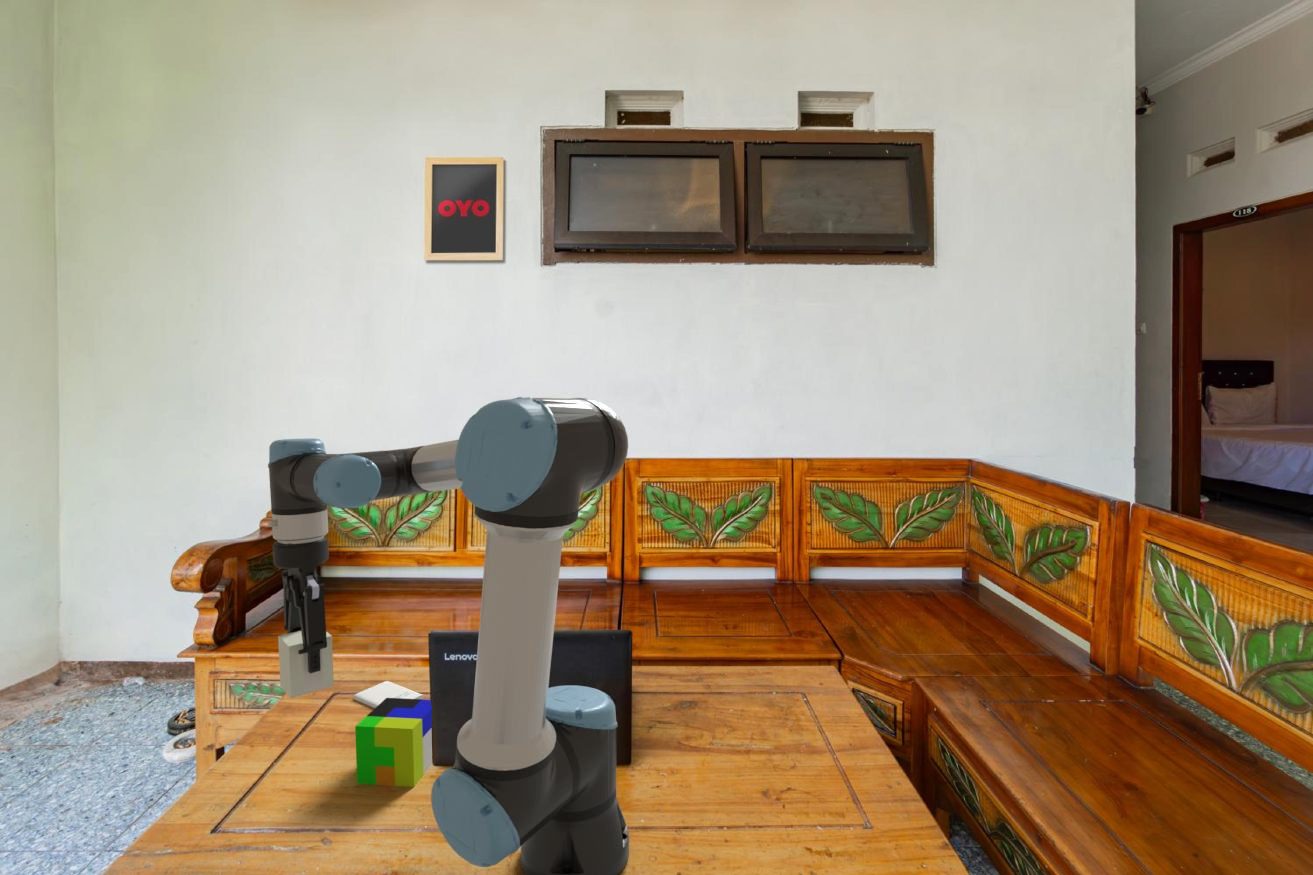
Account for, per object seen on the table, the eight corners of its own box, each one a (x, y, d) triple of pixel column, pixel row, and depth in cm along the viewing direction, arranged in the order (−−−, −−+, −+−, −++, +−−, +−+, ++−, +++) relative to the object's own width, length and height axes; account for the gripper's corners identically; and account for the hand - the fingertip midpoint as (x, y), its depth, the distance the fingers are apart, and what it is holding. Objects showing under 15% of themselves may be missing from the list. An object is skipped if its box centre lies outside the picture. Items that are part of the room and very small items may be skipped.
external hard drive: (388, 686, 142) (423, 700, 136) (353, 701, 136) (389, 717, 129) (387, 679, 142) (423, 693, 136) (353, 694, 135) (389, 709, 129)
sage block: (333, 685, 99) (331, 635, 99) (291, 698, 95) (288, 646, 95) (321, 673, 104) (319, 626, 103) (280, 685, 99) (278, 635, 99)
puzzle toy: (440, 753, 115) (439, 700, 114) (414, 787, 105) (412, 728, 104) (388, 750, 116) (386, 697, 115) (357, 783, 106) (355, 725, 105)
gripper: (257, 533, 102) (264, 672, 103) (290, 552, 88) (297, 713, 90) (309, 526, 107) (314, 659, 109) (347, 544, 94) (353, 696, 95)
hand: (306, 683), depth 99 cm, fingers closed on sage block, 6 cm apart
